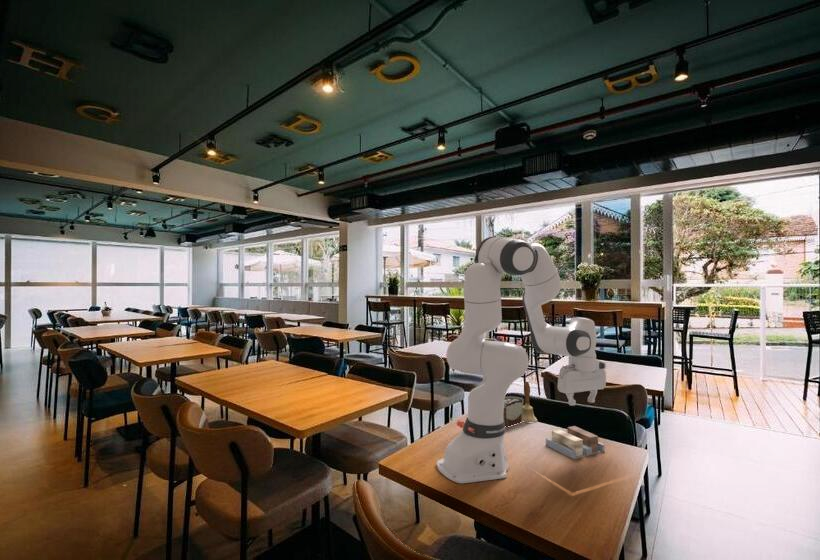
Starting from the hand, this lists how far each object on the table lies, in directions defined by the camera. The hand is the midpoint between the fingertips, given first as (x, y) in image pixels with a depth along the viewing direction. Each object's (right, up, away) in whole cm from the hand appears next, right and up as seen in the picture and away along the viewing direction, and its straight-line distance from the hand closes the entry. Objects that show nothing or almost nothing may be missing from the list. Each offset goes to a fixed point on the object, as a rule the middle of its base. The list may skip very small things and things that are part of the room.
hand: (581, 403), depth 134 cm
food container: (-20, -16, +24) cm, 35 cm away
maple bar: (-7, -15, -3) cm, 16 cm away
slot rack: (-3, -16, -2) cm, 16 cm away
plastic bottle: (-28, -16, +22) cm, 39 cm away
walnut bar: (0, -15, 0) cm, 15 cm away
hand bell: (-10, -16, +28) cm, 34 cm away
